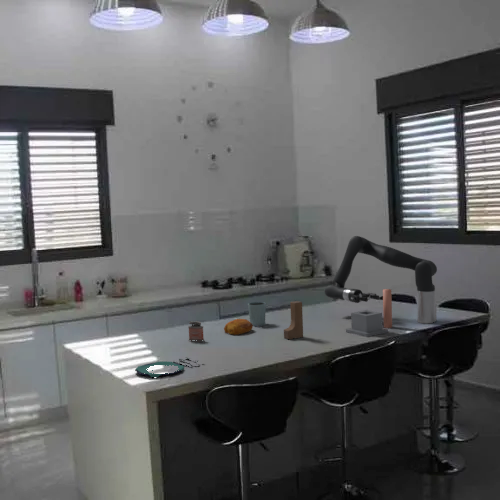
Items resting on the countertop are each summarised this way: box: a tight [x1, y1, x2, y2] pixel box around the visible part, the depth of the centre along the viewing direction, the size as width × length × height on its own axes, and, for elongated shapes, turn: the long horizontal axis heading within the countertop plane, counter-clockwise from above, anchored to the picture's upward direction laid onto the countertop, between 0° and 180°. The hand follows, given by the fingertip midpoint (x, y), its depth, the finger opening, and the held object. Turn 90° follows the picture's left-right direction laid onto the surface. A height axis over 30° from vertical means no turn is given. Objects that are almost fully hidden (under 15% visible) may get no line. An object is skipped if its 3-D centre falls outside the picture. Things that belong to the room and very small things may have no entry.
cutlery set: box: [134, 356, 199, 378], centre depth 272 cm, size 20×30×2 cm, turn 131°
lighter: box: [187, 320, 205, 342], centre depth 323 cm, size 8×3×10 cm, turn 71°
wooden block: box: [283, 300, 304, 340], centre depth 320 cm, size 9×4×18 cm, turn 118°
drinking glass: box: [247, 301, 267, 327], centre depth 357 cm, size 10×10×12 cm
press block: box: [345, 309, 389, 338], centre depth 326 cm, size 15×15×10 cm
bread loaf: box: [223, 318, 254, 336], centre depth 340 cm, size 14×16×8 cm
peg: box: [382, 288, 393, 329], centre depth 335 cm, size 4×4×20 cm
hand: (373, 298), depth 344 cm, fingers open, 8 cm apart
